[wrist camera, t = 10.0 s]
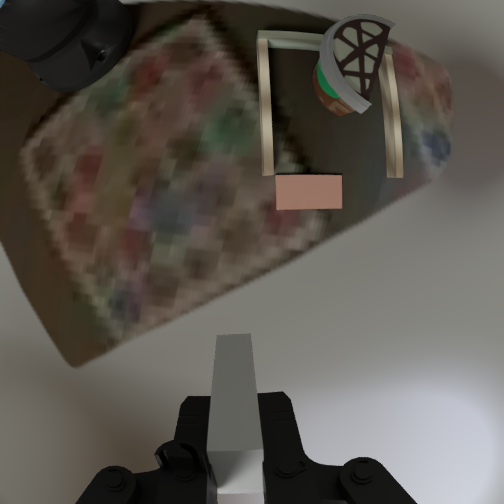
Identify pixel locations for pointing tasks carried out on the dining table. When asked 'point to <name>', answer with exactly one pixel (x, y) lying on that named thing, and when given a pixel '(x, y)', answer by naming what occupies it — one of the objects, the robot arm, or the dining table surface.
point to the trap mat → (308, 191)
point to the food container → (350, 62)
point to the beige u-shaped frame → (313, 43)
